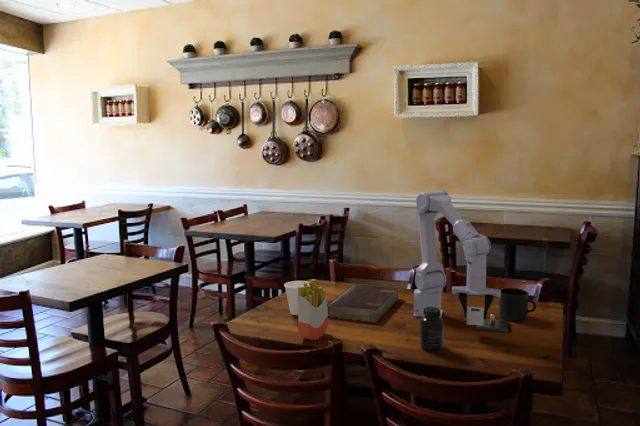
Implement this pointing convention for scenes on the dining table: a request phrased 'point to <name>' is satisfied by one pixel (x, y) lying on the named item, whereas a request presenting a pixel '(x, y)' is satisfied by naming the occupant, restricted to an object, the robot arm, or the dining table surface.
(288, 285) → the cup
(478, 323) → the gray square hollow block
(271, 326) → the dining table surface
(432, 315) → the supplement bottle
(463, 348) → the dining table surface
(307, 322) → the french fries container
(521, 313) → the mug
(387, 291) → the hardback book
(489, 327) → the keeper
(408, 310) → the dining table surface
